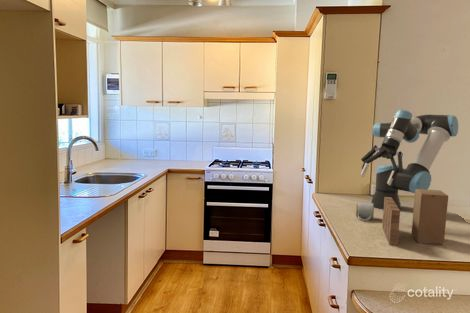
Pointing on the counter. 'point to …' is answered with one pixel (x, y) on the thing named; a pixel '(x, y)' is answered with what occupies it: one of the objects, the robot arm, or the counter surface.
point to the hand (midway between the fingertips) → (374, 180)
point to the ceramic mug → (365, 211)
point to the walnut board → (391, 221)
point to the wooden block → (429, 216)
